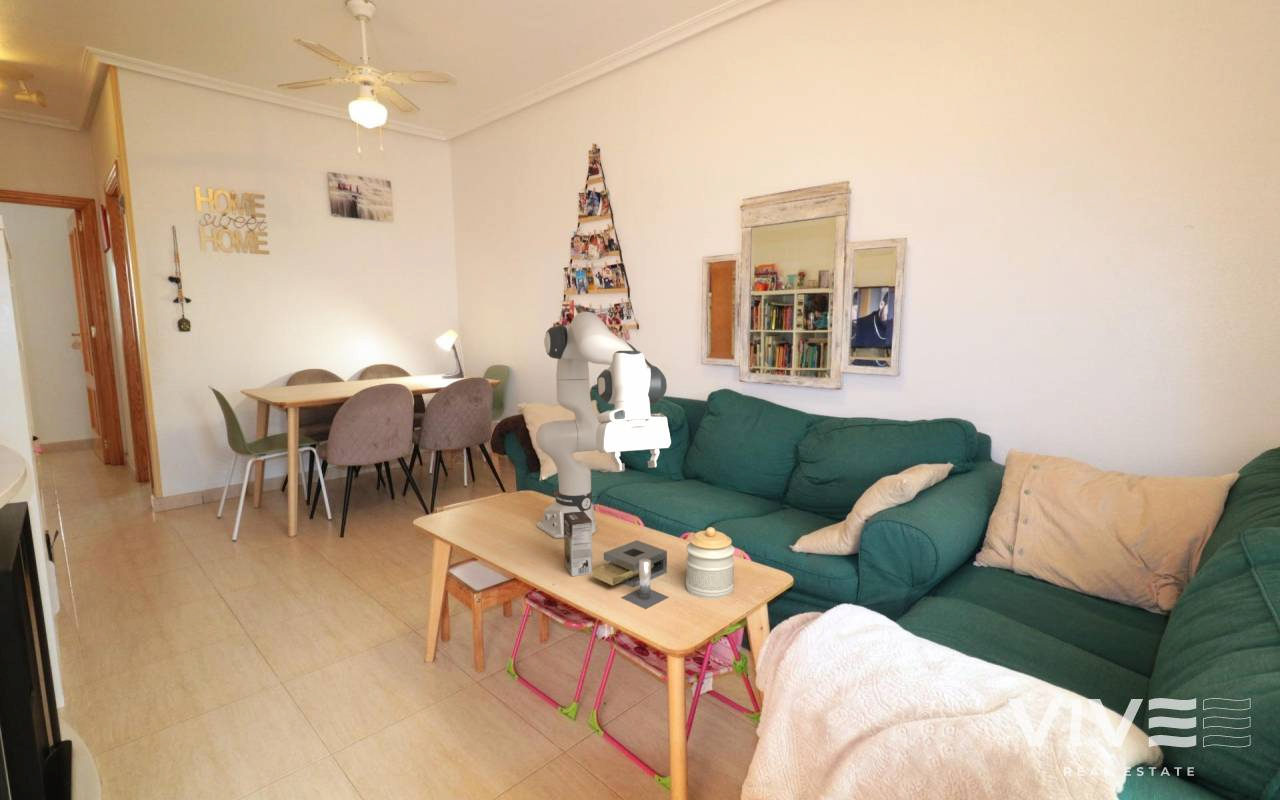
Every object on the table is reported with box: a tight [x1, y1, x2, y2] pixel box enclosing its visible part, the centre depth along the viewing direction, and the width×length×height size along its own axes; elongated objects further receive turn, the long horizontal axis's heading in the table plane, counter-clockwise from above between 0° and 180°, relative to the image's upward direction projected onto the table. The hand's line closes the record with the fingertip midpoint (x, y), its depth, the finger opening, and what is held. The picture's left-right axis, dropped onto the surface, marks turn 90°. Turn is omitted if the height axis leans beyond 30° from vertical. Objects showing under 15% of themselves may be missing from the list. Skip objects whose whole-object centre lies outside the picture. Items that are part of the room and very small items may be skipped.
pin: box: [638, 559, 652, 600], centre depth 153 cm, size 3×3×10 cm
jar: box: [685, 526, 736, 600], centre depth 158 cm, size 13×13×18 cm
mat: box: [620, 588, 670, 610], centre depth 154 cm, size 9×9×1 cm
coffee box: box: [563, 511, 593, 577], centre depth 171 cm, size 9×6×16 cm
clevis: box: [592, 539, 668, 589], centre depth 166 cm, size 12×20×7 cm, turn 136°
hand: (636, 469), depth 146 cm, fingers open, 8 cm apart
